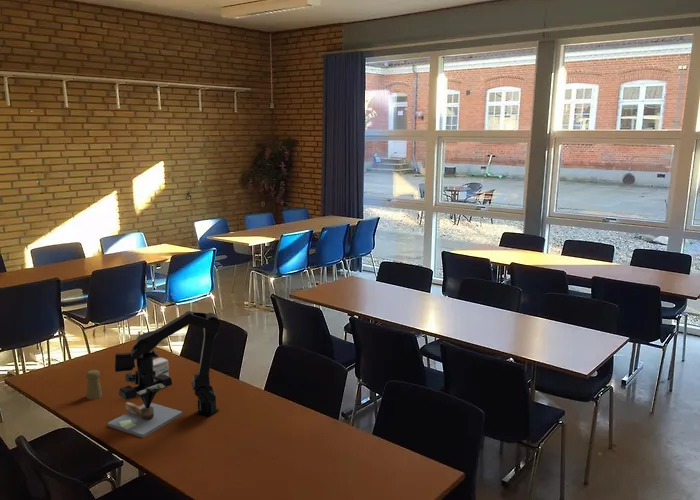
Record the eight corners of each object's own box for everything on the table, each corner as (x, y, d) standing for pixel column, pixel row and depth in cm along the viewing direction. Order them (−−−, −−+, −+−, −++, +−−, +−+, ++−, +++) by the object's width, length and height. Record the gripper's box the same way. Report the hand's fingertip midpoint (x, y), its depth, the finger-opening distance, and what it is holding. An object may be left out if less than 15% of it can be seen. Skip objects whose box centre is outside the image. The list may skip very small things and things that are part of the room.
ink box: (152, 392, 240) (150, 365, 238) (145, 388, 243) (144, 362, 241) (169, 385, 247) (168, 359, 244) (163, 382, 250) (161, 356, 247)
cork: (105, 393, 238) (103, 368, 236) (97, 399, 232) (95, 374, 230) (91, 392, 238) (89, 367, 236) (83, 398, 232) (81, 373, 230)
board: (182, 414, 221) (182, 411, 220) (143, 437, 203) (142, 434, 203) (148, 404, 228) (148, 401, 228) (107, 426, 211) (107, 422, 210)
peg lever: (156, 415, 216) (156, 408, 215) (146, 420, 212) (146, 412, 211) (131, 406, 223) (131, 398, 222) (122, 410, 219) (121, 403, 219)
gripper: (156, 356, 224) (158, 393, 226) (110, 369, 210) (113, 409, 213) (172, 363, 216) (173, 402, 219) (125, 378, 202) (127, 419, 205)
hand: (147, 407), depth 214 cm, fingers closed
